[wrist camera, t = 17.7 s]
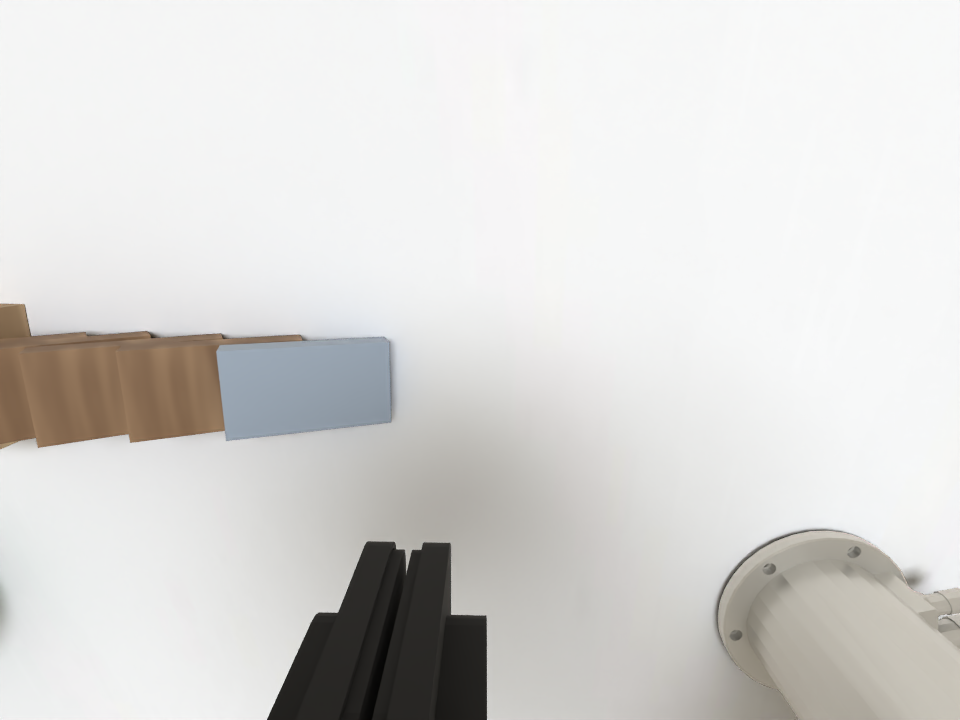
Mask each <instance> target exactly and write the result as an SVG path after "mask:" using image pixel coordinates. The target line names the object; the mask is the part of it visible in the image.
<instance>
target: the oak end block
mask: <svg viewBox="0 0 960 720" xmlns="http://www.w3.org/2000/svg"><path fill="white" fill-rule="evenodd" d="M19 337H31V336H30V331H29V326H28V321H27V316H26V311H25V306H24V304H0V339H6V338H19ZM16 442H18V441H15V442H10V443H4V444H0V449H2V448H4V447H7V446H9V445H11V444H14V443H16Z"/></svg>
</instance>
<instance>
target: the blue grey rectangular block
mask: <svg viewBox="0 0 960 720" xmlns="http://www.w3.org/2000/svg"><path fill="white" fill-rule="evenodd" d="M216 353H217V362H218V371H219V380H220V389H221V398H222V407H223V416H224V425H225V434H226V441H230V440H239V439H248V438H257V437H266V436H274V435H283V434H292V433H301V432H310V431H319V430H328V429H336V428H345V427H354V426H363V425H372V424H381V423H390V422H391V398H390V353H389V341H388V340H387V339H386V338H385V337H372V338H352V339H332V340H312V341H292V342H272V343H252V344H232V345H220V346H219V348H218V349H217V351H216Z"/></svg>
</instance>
